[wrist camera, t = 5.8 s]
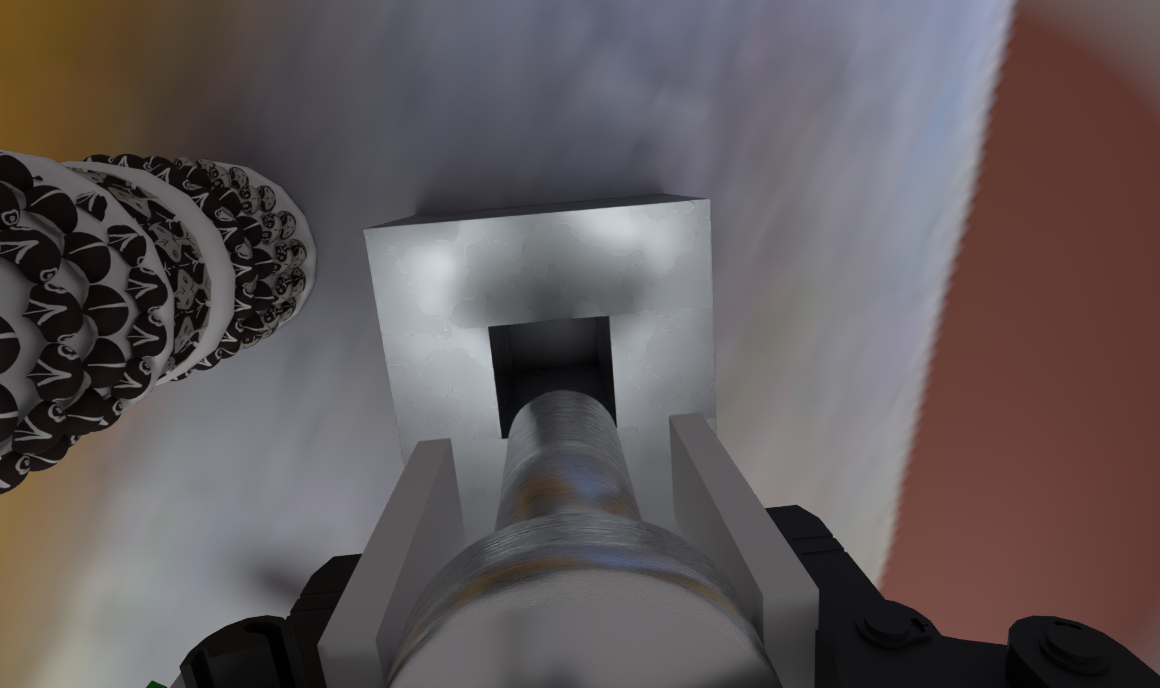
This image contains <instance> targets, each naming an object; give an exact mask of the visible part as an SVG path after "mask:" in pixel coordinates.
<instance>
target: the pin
mask: <svg viewBox="0 0 1160 688" xmlns="http://www.w3.org/2000/svg"><path fill="white" fill-rule="evenodd" d="M385 688H783V687H782V685H781V682H780V680H779V678H778V676H777V674H776V672H775V670H774V667H773V665H772V663H771V661H770V659H769V657H768V655H767V653H766V650H765V648H764V646H763V644H762V642H761V640H760V638H759V635H758V633H757V631H756V629H755V627H754V625H753V623H752V620H751V618H750V616H749V614H748V612H747V610H746V608H745V606H744V603H743V601H742V599H741V597H740V595H739V594H738V592H737V590H736V589H735V587H734V586H733V584H732V582H731V581H730V579H729V578H728V577H727V576H726V574H725V573H724V572H723V571H722V570H721V569H720V568H719V566H718V565H717V564H716V563H715V562H714V561H713V560H712V559H710V558H709V557H708V556H707V555H706V554H705V553H704V552H702V551H701V550H700V549H699V548H697V547H696V546H694V545H693V544H691V543H690V542H688V541H687V540H685V539H683V538H682V537H680V536H679V535H676V534H674V533H672V532H670V531H668V530H666V529H664V528H662V527H659V526H657V525H654V524H651V523H648V522H644V521H642V518H641V514H640V511H639V507H638V504H637V500H636V497H635V493H634V490H633V486H632V483H631V479H630V475H629V472H628V468H627V465H626V461H625V458H624V454H623V451H622V447H621V444H620V440H619V437H618V433H617V430H616V426H615V423H614V421H613V419H612V417H611V415H610V414H609V412H608V411H607V410H606V409H605V407H604V406H603V405H602V404H600V403H599V402H598V401H597V400H595V399H594V398H592V397H590V396H588V395H586V394H583V393H580V392H576V391H568V390H559V391H552V392H548V393H545V394H542V395H540V396H538V397H536V398H534V399H532V400H531V401H530V402H528V403H527V404H526V405H525V406H524V407H523V408H522V409H521V410H520V411H519V412H518V414H517V415H516V417H515V419H514V421H513V423H512V425H511V428H510V432H509V438H508V445H507V452H506V458H505V465H504V472H503V479H502V485H501V492H500V499H499V506H498V512H497V519H496V526H495V532H494V533H491V534H489V535H487V536H486V537H484V538H482V539H481V540H479V541H477V542H475V543H474V544H472V545H470V546H468V547H467V548H466V549H464V550H463V551H462V552H461V553H459V554H458V555H457V556H455V557H454V558H453V559H451V560H450V561H449V562H448V563H447V564H446V565H445V566H444V567H443V568H442V569H441V570H440V571H439V572H438V573H437V574H436V575H435V576H434V577H433V578H432V579H431V581H430V582H429V583H428V585H427V586H426V587H425V589H424V590H423V591H422V592H421V594H420V595H419V597H418V599H417V601H416V602H415V604H414V606H413V608H412V610H411V611H410V613H409V615H408V618H407V621H406V624H405V626H404V629H403V632H402V635H401V638H400V641H399V644H398V647H397V650H396V653H395V656H394V659H393V663H392V666H391V669H390V672H389V675H388V678H387V681H386V684H385Z"/></svg>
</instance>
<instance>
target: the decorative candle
mask: <svg viewBox="0 0 1160 688" xmlns="http://www.w3.org/2000/svg"><path fill="white" fill-rule="evenodd" d="M316 260H317V249H316V246H315V243H314V240H313V237H312V234H311V231H310V228H309V225H308V222H307V219H306V216H305V215H304V214H303V213H302V211H301V210H300V209H299V208H298V207H297V205H296V204H295V203H294V202H293V200H292V199H291V198H290V197H289V196H288V194H287V193H286V192H285V191H284V189H283V188H282V187H281V186H279V185H277V184H276V183H274V182H272V181H271V180H269V179H267V178H266V177H264V176H262V175H261V174H259V173H257V172H256V171H254V170H252V169H251V168H249V167H244V166H238V165H233V164H227V163H222V162H216V161H211V160H209V159H204V158H202V159H198V160H197V161H196V162H194V161H193V160H192V159H190V158H187V157H178V158H176V159H175V160H173V161H171V162H170V161H169V160H167V159H165V158H162V157H158V156H150V157H147V158H145V159H143V158H141V157H139V156H136V155H132V154H122V155H118V156H116V157H115V158H112V157H110V156H107V155H100V154H99V155H92V156H89V157H87V158H86V159H84V160H83V161H82V162H81V161H67V162H63V163H58V162H56V161H54V160H52V159H50V158H45V157H40V156H34V155H28V154H22V153H17V152H11V151H5V150H0V494H3V493H5V492H8V491H10V490H12V489H13V488H15V487H16V486H18V485H19V484H20V483H21V482H22V481H23V480H24V479H25V478H26V476H27V474H28V472H29V471H41V470H45V469H47V468H50V467H52V466H54V465H55V464H57V463H58V462H59V461H60V460H61V459H62V458H63V457H64V456H65V455H66V453H67V451H68V448H69V447H71V446H73V445H74V444H75V443H76V442H77V441H78V440H79V438H80V436H81V435H85V434H88V433H90V432H96V431H101V430H104V429H106V428H108V427H110V426H111V425H113V424H114V423H115V422H116V421H117V420H118V419H119V417H120V415H121V414H123V413H124V412H125V411H127V410H128V409H129V408H131V407H132V406H133V405H135V404H136V403H137V402H139V401H140V400H141V399H143V398H144V397H145V396H147V395H148V394H149V393H151V392H152V390H153V388H154V386H155V385H160V384H164V383H166V382H168V381H178V380H182V379H184V378H186V377H187V376H188V375H190V373H191V372H192V369H197V370H208V369H210V368H212V367H214V366H215V365H216V364H218V362H219V361H220V359H225V358H229V357H231V356H233V355H234V354H236V353H237V351H238V350H239V349H245V348H249V347H251V346H253V345H255V344H256V343H257V342H258V341H259V340H260V339H264V338H267V337H268V336H270V335H271V334H273V333H274V331H275V330H277V329H278V328H279V327H281V326H282V325H283V324H285V323H286V322H287V321H289V320H290V319H292V318H293V317H294V316H296V315H297V314H298V313H300V311H301V309H302V307H303V305H304V303H305V302H306V300H307V298H308V296H309V294H310V292H311V290H312V289H313V287H314V285H315V274H316Z"/></svg>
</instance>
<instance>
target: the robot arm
mask: <svg viewBox="0 0 1160 688" xmlns="http://www.w3.org/2000/svg"><path fill="white" fill-rule="evenodd" d="M669 429H670V448H671V466H672V485H673V504H674V518H675V521H676V524H677V526H678V529H679V531H680V534H681V537H682V538H683V539H685V540H687V541H688V542H690V543H691V544H693V545H694V546H696V547H697V548H699V549H700V550H701V551H702V552H704V553H705V554H706V555H707V556H708V557H709V558H710V559H712V560H713V561H714V562H715V563H716V564H717V565H718V566H719V568H720V569H721V570H722V571H723V572H724V573H725V574H726V576H727V577H728V578H729V579H730V581H731V582H732V584H733V586H734V587H735V589H736V590H737V592H738V594H739V595H740V597H741V599H742V601H743V603H744V606H745V608H746V610H747V612H748V614H749V616H750V618H751V620H752V623H753V625H754V627H755V629H756V631H757V633H758V635H759V638H760V640H761V642H762V644H763V646H764V648H765V650H766V653H767V655H768V657H769V659H770V661H771V663H772V665H773V667H774V670H775V672H776V674H777V676H778V678H779V680H780V682H781V685H782V687H783V688H1160V676H1159V675H1158V674H1157V673H1156V672H1155V671H1153V670H1152V669H1151V668H1149V666H1147V665H1146V664H1145V663H1144V662H1142V661H1141V660H1140V659H1139V658H1138V657H1136V656H1135V655H1134V654H1132V653H1131V652H1130V651H1129V650H1128V649H1127V648H1125V647H1124V646H1123V645H1121V644H1119V643H1118V642H1116V641H1115V640H1114V639H1112V638H1110V637H1109V636H1108V635H1106V634H1104V633H1103V632H1100V631H1098V630H1096V629H1093V628H1091V627H1088V626H1086V625H1084V624H1082V623H1079V622H1075V621H1071V620H1067V619H1063V618H1059V617H1055V616H1030V617H1026V618H1023V619H1019V620H1017V621H1016V622H1015V623H1014V624H1013V625H1012V626H1011V627H1010V628H1009V633H1008V642H1007V645H1002V644H994V643H986V642H978V641H969V640H962V639H957V638H951V637H946V636H942V635H941V634H940V633H939V631H938V630H937V629H936V627H935V626H934V625H933V624H932V622H931V621H930V620H929V619H927V618H926V617H924V616H923V615H922V614H920V613H919V612H917V611H916V610H914V609H912V608H910V607H907V606H905V605H902V604H900V603H897V602H895V601H890V600H885V599H884V597H883V596H882V595H881V594H880V592H879V591H878V590H877V589H876V587H875V586H874V585H873V584H872V583H871V581H870V580H869V579H868V578H867V576H866V575H865V574H864V573H863V571H862V570H861V569H860V568H859V566H858V565H857V564H856V563H855V562H854V560H853V559H852V558H851V557H850V555H849V554H848V553H847V552H844V548H843V547H842V546H841V544H840V543H839V542H838V541H837V539H836V538H833V534H832V533H831V532H830V531H829V530H828V528H827V527H826V526H825V525H824V523H823V522H822V521H821V520H820V518H818V517H817V516H815V515H813V514H811V513H810V512H808V511H806V510H805V509H803V508H801V507H800V506H798V505H791V506H782V507H772V508H764V507H763V505H762V504H761V502H760V501H759V499H758V498H757V496H756V495H755V493H754V492H753V490H752V489H751V487H750V486H749V484H748V483H747V481H746V480H745V478H744V477H743V475H742V474H741V472H740V471H739V469H738V468H737V466H736V465H735V463H734V462H733V460H732V459H731V457H730V456H729V454H728V453H727V451H726V450H725V448H724V447H723V445H722V444H721V442H720V441H719V439H718V438H717V436H716V435H715V433H714V432H713V431H712V429H711V428H710V426H709V425H708V423H707V422H706V420H705V419H704V417H703V416H702V414H701V413H700V412H699V413H689V414H679V415H670V416H669ZM465 543H466V535H465V529H464V523H463V516H462V510H461V503H460V497H459V490H458V484H457V477H456V471H455V464H454V458H453V451H452V445H451V438H446V439H436V440H426V441H418V443H417V445H416V447H415V449H414V451H413V453H412V455H411V457H410V459H409V461H408V463H407V465H406V467H405V469H404V471H403V473H402V475H401V477H400V479H399V481H398V483H397V485H396V487H395V489H394V491H393V493H392V495H391V497H390V499H389V501H388V503H387V505H386V507H385V509H384V511H383V513H382V515H381V517H380V519H379V521H378V523H377V525H376V528H375V530H374V532H373V534H372V536H371V538H370V540H369V542H368V544H367V546H366V548H365V550H364V552H363V554H354V555H345V556H335V557H333V558H331V559H330V560H329V561H328V562H327V563H326V564H324V565H323V566H322V567H321V568H320V569H319V570H317V571H316V572H315V573H314V574H313V575H312V576H311V578H310V579H309V581H308V583H307V584H306V586H305V588H304V589H303V591H302V593H301V595H300V599H298V600H297V601H296V603H295V605H294V606H293V608H292V610H291V611H290V616H287V618H286V620H285V619H284V618H282V617H276V616H269V615H265V616H258V617H252V618H247V619H244V620H241V621H238V622H236V623H233V624H230V625H227V626H225V627H223V628H222V629H220V630H218V631H216V632H215V633H213V634H211V635H210V636H208V637H206V638H205V639H204V640H203V641H201V642H200V643H199V644H198V645H197V646H196V647H194V648H193V649H192V650H191V651H190V652H189V653H188V655H187V656H186V658H185V659H184V661H183V662H182V664H181V665H180V670H181V674H182V677H183V680H184V683H185V687H186V688H385V684H386V681H387V678H388V675H389V672H390V669H391V666H392V663H393V659H394V656H395V653H396V650H397V647H398V644H399V641H400V638H401V635H402V632H403V629H404V626H405V624H406V621H407V618H408V615H409V613H410V611H411V610H412V608H413V606H414V604H415V602H416V601H417V599H418V597H419V595H420V594H421V592H422V591H423V590H424V589H425V587H426V586H427V585H428V583H429V582H430V581H431V579H432V578H433V577H434V576H435V575H436V574H437V573H438V572H439V571H440V570H441V569H442V568H443V567H444V566H445V565H446V564H447V563H448V562H449V561H450V560H451V559H453V558H454V557H455V556H457V555H458V554H459V553H461V552H462V551H463V550H464V548H465Z"/></svg>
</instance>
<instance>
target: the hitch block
mask: <svg viewBox="0 0 1160 688" xmlns="http://www.w3.org/2000/svg"><path fill="white" fill-rule="evenodd" d="M363 231H364V237H365V242H366V248H367V254H368V260H369V266H370V271H371V277H372V283H373V289H374V295H375V300H376V306H377V312H378V318H379V324H380V329H381V335H382V341H383V347H384V352H385V358H386V364H387V370H388V376H389V381H390V387H391V393H392V399H393V405H394V410H395V416H396V422H397V428H398V434H399V439H400V445H401V451H402V457H403V463H404V468H405V467H406V465H407V463H408V461H409V459H410V457H411V455H412V453H413V451H414V449H415V447H416V445H417V443H418V441H426V440H436V439H446V438H451V445H452V451H453V458H454V464H455V471H456V477H457V484H458V490H459V497H460V503H461V510H462V516H463V523H464V529H465V535H466V543H465V548H464V549H466V548H467V547H468V546H470V545H472V544H474V543H475V542H477V541H479V540H481V539H482V538H484V537H486V536H487V535H489V534H491V533H494V532H495V526H496V519H497V512H498V506H499V499H500V492H501V485H502V479H503V472H504V465H505V458H506V452H507V445H508V438H509V432H510V428H511V425H512V423H513V421H514V419H515V417H516V415H517V414H518V412H519V411H520V410H521V409H522V408H523V407H524V406H525V405H526V404H527V403H528V402H530V401H531V400H532V399H534V398H536V397H538V396H540V395H542V394H545V393H548V392H552V391H559V390H568V391H576V392H580V393H583V394H586V395H588V396H590V397H592V398H594V399H595V400H597V401H598V402H599V403H600V404H602V405H603V406H604V407H605V409H606V410H607V411H608V412H609V414H610V415H611V417H612V419H613V421H614V423H615V426H616V430H617V433H618V437H619V440H620V444H621V447H622V451H623V454H624V458H625V461H626V465H627V468H628V472H629V475H630V479H631V483H632V486H633V490H634V493H635V497H636V500H637V504H638V507H639V511H640V514H641V518H642V521H644V522H648V523H651V524H654V525H657V526H659V527H662V528H664V529H666V530H668V531H670V532H672V533H674V534H676V535H679V536H680V537H681V534H680V531H679V529H678V526H677V524H676V521H675V518H674V504H673V485H672V466H671V448H670V429H669V416H670V415H679V414H689V413H699V412H700V413H701V414H702V416H703V417H704V419H705V420H706V422H707V423H708V425H709V426H710V428H711V429H712V431H713V432H714V433H715V435H716V409H715V370H714V331H713V292H712V253H711V214H710V199H706V198H697V197H688V196H679V195H670V194H656V195H645V196H633V197H622V198H610V199H599V200H587V201H575V202H564V203H552V204H541V205H529V206H517V207H506V208H494V209H483V210H471V211H460V212H448V213H436V214H425V215H414V216H410V217H407V218H403V219H399V220H395V221H392V222H388V223H384V224H380V225H377V226H373V227H369V228H366V229H363ZM586 317H595V324H596V337H597V350H598V364H588V365H577V366H566V367H556V368H545V369H535V370H524V371H514V372H513V365H512V356H511V348H510V339H509V331H508V325H510V324H521V323H532V322H543V321H554V320H564V319H575V318H586Z"/></svg>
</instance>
